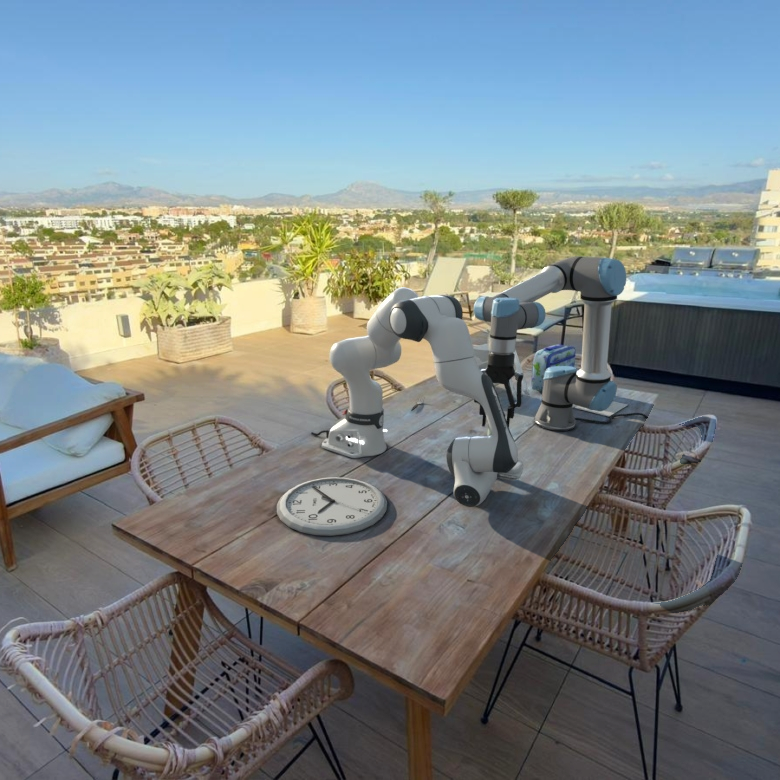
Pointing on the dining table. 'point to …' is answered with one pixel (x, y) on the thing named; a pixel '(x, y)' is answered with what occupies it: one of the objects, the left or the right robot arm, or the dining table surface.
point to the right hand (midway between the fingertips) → (495, 426)
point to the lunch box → (550, 362)
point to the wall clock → (331, 506)
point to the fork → (418, 403)
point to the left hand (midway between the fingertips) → (493, 454)
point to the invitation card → (609, 411)
